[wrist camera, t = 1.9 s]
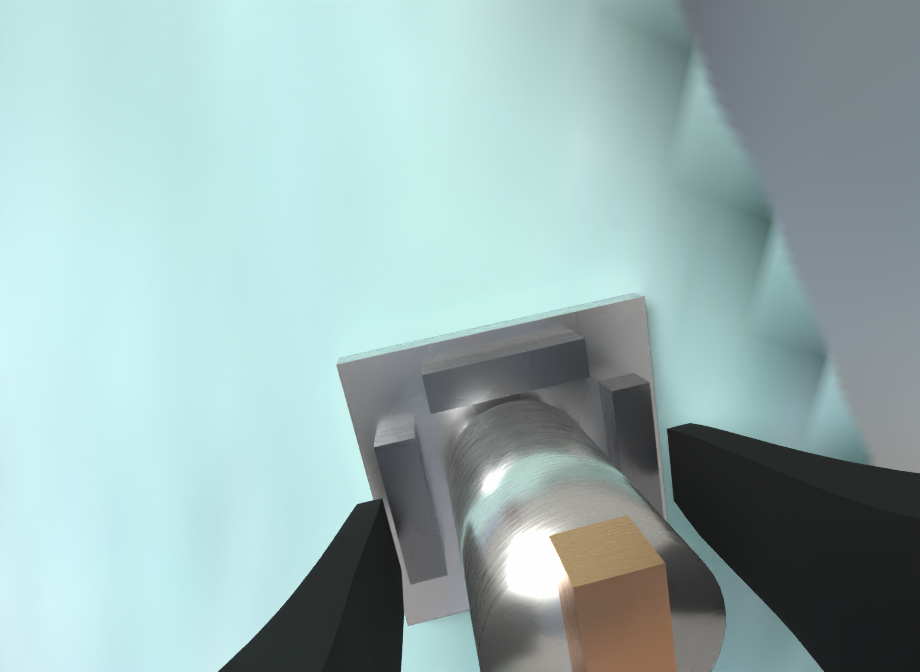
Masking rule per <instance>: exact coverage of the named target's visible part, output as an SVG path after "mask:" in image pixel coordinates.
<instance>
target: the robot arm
mask: <svg viewBox="0 0 920 672" xmlns="http://www.w3.org/2000/svg"><path fill="white" fill-rule="evenodd" d="M667 434H668V444H669V455H670V465H671V476H672V486H673V497H674V501H675V503H676V504H677V505H678V507H679V508H680V510H681V511H682V512H683V514H684V515H685V517H686V518H687V519H688V521H689V522H690V523H691V525H692V526H693V527H694V528H695V530H696V531H697V532H698V534H699V535H700V536H701V537H702V538H703V539H704V540H705V541H706V542H707V544H708V545H709V546H710V547H711V548H712V549H713V550H714V551H715V552H716V553H717V554H718V555H719V556H720V557H721V558H722V559H723V560H724V561H725V562H726V563H727V564H728V565H729V566H730V568H731V569H732V570H733V571H734V572H735V573H736V574H737V575H738V576H739V577H740V578H741V579H742V580H743V581H744V582H745V583H746V584H747V585H748V586H749V587H750V588H751V589H752V590H753V591H754V592H755V593H756V594H757V595H758V596H759V597H760V598H761V599H762V600H763V601H764V602H765V604H766V605H767V606H768V607H769V608H770V609H771V610H772V611H773V612H774V613H775V614H776V615H777V616H778V617H779V618H780V619H781V620H782V622H783V623H784V624H785V625H786V626H787V627H788V628H789V629H790V630H791V632H792V633H793V634H794V635H795V636H796V637H797V639H798V640H799V641H800V642H801V644H802V645H803V646H804V647H805V649H806V650H807V651H808V652H809V653H810V655H811V656H812V657H813V658H814V660H815V661H816V662H817V663H818V664H819V666H820V667H821V668H822V669H823V671H824V672H920V473H912V472H906V471H899V470H892V469H887V468H881V467H875V466H870V465H864V464H858V463H853V462H848V461H843V460H838V459H834V458H829V457H825V456H821V455H816V454H812V453H807V452H803V451H799V450H795V449H791V448H787V447H783V446H779V445H776V444H772V443H768V442H764V441H761V440H757V439H753V438H750V437H746V436H742V435H739V434H735V433H731V432H728V431H724V430H720V429H716V428H712V427H708V426H703V425H698V424H692V423H689V424H685V425H680V426H676V427H672V428H668V429H667ZM403 625H404V601H403V584H402V570H401V566H400V562H399V558H398V555H397V551H396V547H395V543H394V540H393V536H392V532H391V529H390V525H389V521H388V517H387V514H386V510H385V506H384V503H383V499H382V498H381V499H377V500H372V501H368V502H364V503H360V504H357V505H356V507H355V508H354V509H353V511H352V512H351V514H350V515H349V517H348V518H347V520H346V521H345V523H344V524H343V526H342V527H341V529H340V530H339V532H338V533H337V535H336V536H335V538H334V539H333V541H332V542H331V544H330V545H329V546H328V548H327V549H326V551H325V552H324V554H323V555H322V556H321V558H320V559H319V561H318V562H317V563H316V565H315V566H314V567H313V569H312V570H311V571H310V572H309V574H308V575H307V576H306V578H305V579H304V580H303V581H302V583H301V584H300V585H299V587H298V588H297V589H296V590H295V592H294V593H293V594H292V596H291V597H290V598H289V599H288V600H287V602H286V603H285V604H284V605H283V606H282V607H281V608H280V610H279V611H278V612H277V613H276V614H275V615H274V616H273V617H272V618H271V620H270V621H269V622H268V623H267V624H266V625H265V626H264V627H263V628H262V629H261V630H260V631H259V632H258V634H257V635H256V636H255V637H254V638H253V639H252V640H251V641H250V642H249V643H248V644H247V645H246V646H245V647H244V648H242V649H241V650H240V651H239V652H238V653H237V654H236V655H235V656H234V657H233V658H232V659H231V660H230V661H229V662H228V663H227V664H226V665H225V666H223V667H222V668H221V669H220V670H219V671H218V672H401V661H402V643H403Z"/></svg>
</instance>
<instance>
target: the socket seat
mask: <svg viewBox="0 0 920 672" xmlns="http://www.w3.org/2000/svg"><path fill="white" fill-rule="evenodd" d="M336 365H337V369H338V372H339V376H340V380H341V383H342V387H343V390H344V394H345V398H346V401H347V405H348V409H349V412H350V416H351V420H352V423H353V427H354V431H355V434H356V438H357V442H358V445H359V449H360V453H361V456H362V460H363V463H364V467H365V471H366V474H367V478H368V482H369V485H370V489H371V493H372V496H373V500H377V499H381V498H382V499H383V503H384V506H385V510H386V514H387V517H388V521H389V525H390V529H391V532H392V536H393V540H394V543H395V547H396V551H397V555H398V558H399V562H400V566H401V570H402V584H403V601H404V613H405V617H406V620H407V624H408V626H410V625H414V624H418V623H421V622H425V621H429V620H433V619H437V618H440V617H444V616H448V615H452V614H456V613H459V612H463V611H467V610H470V608H469V603H468V597H467V591H466V586H465V580H464V574H463V568H462V563H461V557H460V551H459V546H458V540H457V534H456V528H455V523H454V517H453V511H452V505H451V500H450V494H449V488H448V482H447V466H448V460H449V456H450V453H451V450H452V448H453V446H454V443H455V442H456V440H457V438H458V437H459V435H460V434H461V432H462V431H463V430H464V429H465V427H466V426H467V425H468V424H469V423H470V422H471V421H472V420H474V419H475V418H476V417H478V416H479V415H480V414H482V413H484V412H485V411H487V410H489V409H491V408H493V407H496V406H498V405H501V404H504V403H508V402H514V401H526V400H528V401H538V402H542V403H546V404H549V405H552V406H555V407H557V408H558V409H560V410H562V411H564V412H565V413H566V414H568V415H569V416H570V417H571V418H572V419H573V420H574V421H575V422H576V423H577V424H578V425H579V426H580V427H581V428H582V429H583V430H584V431H585V432H586V434H587V435H588V436H589V437H590V438H591V439H592V440H593V441H594V442H595V443H596V445H597V446H598V447H599V448H600V449H601V450H602V451H603V452H604V453H605V454H606V456H607V457H608V458H609V459H610V460H611V461H612V462H613V463H614V464H615V465H616V467H617V468H618V469H619V470H620V471H621V472H622V473H623V474H624V475H625V476H626V478H627V479H628V480H629V481H630V482H631V483H632V484H633V485H634V486H635V487H636V489H637V490H638V491H639V492H640V493H641V494H642V495H643V496H644V497H645V498H646V500H647V501H648V502H649V503H650V504H651V505H652V506H653V507H654V508H655V509H656V510H657V512H658V513H659V514H660V515H661V516H662V517H663V518H664V519H665V520H666V521H667V513H666V504H665V494H664V484H663V474H662V464H661V454H660V444H659V434H658V424H657V414H656V404H655V394H654V384H653V374H652V365H651V355H650V345H649V335H648V325H647V315H646V305H645V296H642V295H638V294H634V293H633V294H628V295H623V296H619V297H614V298H610V299H605V300H601V301H596V302H592V303H587V304H583V305H578V306H574V307H569V308H564V309H560V310H555V311H551V312H546V313H542V314H537V315H533V316H528V317H524V318H519V319H515V320H510V321H505V322H501V323H496V324H492V325H487V326H483V327H478V328H474V329H469V330H465V331H460V332H455V333H451V334H446V335H442V336H437V337H433V338H428V339H424V340H419V341H415V342H410V343H406V344H401V345H396V346H392V347H387V348H383V349H378V350H374V351H369V352H365V353H360V354H356V355H351V356H347V357H342V358H339V360H338V362H337V364H336Z"/></svg>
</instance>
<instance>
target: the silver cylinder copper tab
mask: <svg viewBox="0 0 920 672" xmlns="http://www.w3.org/2000/svg"><path fill="white" fill-rule="evenodd" d="M447 482H448V488H449V494H450V500H451V505H452V511H453V517H454V523H455V528H456V534H457V540H458V546H459V551H460V557H461V563H462V568H463V574H464V580H465V586H466V591H467V597H468V603H469V608H470V614H471V620H472V626H473V631H474V637H475V643H476V649H477V654H478V660H479V666H480V671H481V672H711V670H712V669H713V667H714V665H715V662H716V660H717V658H718V656H719V653H720V650H721V647H722V643H723V640H724V633H725V627H726V612H725V605H724V599H723V596H722V593H721V589H720V587H719V585H718V583H717V581H716V579H715V577H714V575H713V574H712V572H711V571H710V570H709V568H708V567H707V566H706V564H705V563H704V562H703V561H702V560H701V559H700V558H699V557H698V556H697V554H696V553H695V552H694V551H693V550H692V549H691V548H690V547H689V546H688V545H687V543H686V542H685V541H684V540H683V539H682V538H681V537H680V536H679V535H678V534H677V532H676V531H675V530H674V529H673V528H672V527H671V526H670V525H669V524H668V523H667V521H666V520H665V519H664V518H663V517H662V516H661V515H660V514H659V513H658V512H657V510H656V509H655V508H654V507H653V506H652V505H651V504H650V503H649V502H648V501H647V500H646V498H645V497H644V496H643V495H642V494H641V493H640V492H639V491H638V490H637V489H636V487H635V486H634V485H633V484H632V483H631V482H630V481H629V480H628V479H627V478H626V476H625V475H624V474H623V473H622V472H621V471H620V470H619V469H618V468H617V467H616V465H615V464H614V463H613V462H612V461H611V460H610V459H609V458H608V457H607V456H606V454H605V453H604V452H603V451H602V450H601V449H600V448H599V447H598V446H597V445H596V443H595V442H594V441H593V440H592V439H591V438H590V437H589V436H588V435H587V434H586V432H585V431H584V430H583V429H582V428H581V427H580V426H579V425H578V424H577V423H576V422H575V421H574V420H573V419H572V418H571V417H570V416H569V415H568V414H566V413H565V412H564V411H562V410H560V409H558V408H557V407H555V406H552V405H549V404H546V403H542V402H538V401H528V400H526V401H514V402H508V403H504V404H501V405H498V406H496V407H493V408H491V409H489V410H487V411H485V412H484V413H482V414H480V415H479V416H478V417H476V418H475V419H474V420H472V421H471V422H470V423H469V424H468V425H467V426H466V427H465V429H464V430H463V431H462V432H461V434H460V435H459V437H458V438H457V440H456V442H455V443H454V446H453V448H452V450H451V453H450V456H449V460H448V466H447Z"/></svg>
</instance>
